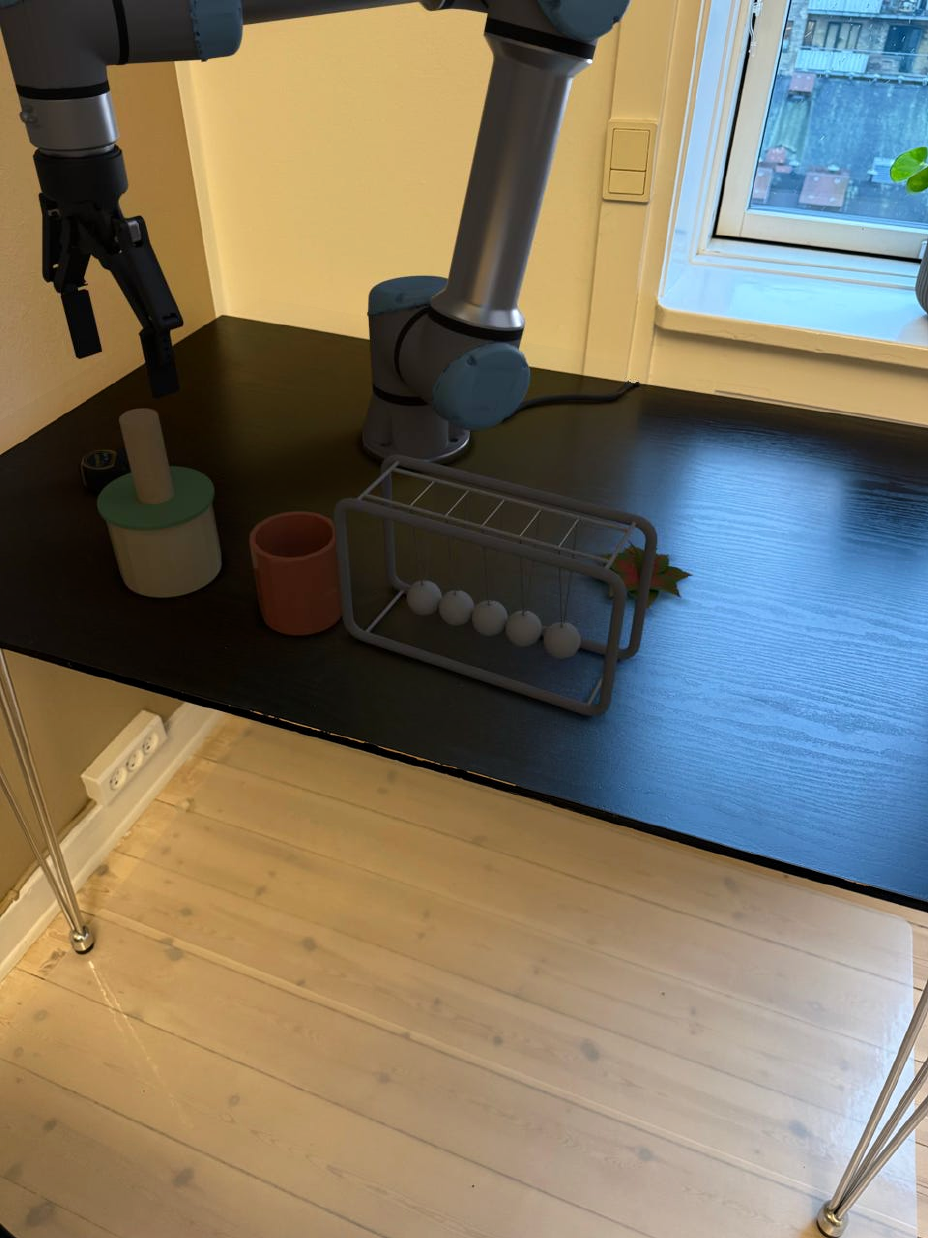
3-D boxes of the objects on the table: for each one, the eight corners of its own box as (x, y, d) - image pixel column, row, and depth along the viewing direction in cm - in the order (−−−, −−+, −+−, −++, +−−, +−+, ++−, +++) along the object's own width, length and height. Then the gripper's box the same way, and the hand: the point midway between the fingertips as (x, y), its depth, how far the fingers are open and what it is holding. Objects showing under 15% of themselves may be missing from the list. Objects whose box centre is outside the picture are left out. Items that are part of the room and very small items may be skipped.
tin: (223, 537, 118) (211, 469, 112) (219, 593, 109) (206, 523, 103) (128, 544, 116) (110, 476, 110) (116, 601, 108) (97, 531, 102)
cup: (341, 581, 111) (335, 508, 105) (346, 631, 104) (340, 556, 98) (261, 587, 110) (250, 514, 103) (261, 639, 103) (249, 563, 96)
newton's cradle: (638, 660, 101) (662, 519, 89) (605, 724, 93) (627, 579, 82) (389, 584, 111) (382, 448, 99) (342, 636, 103) (329, 495, 92)
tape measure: (138, 492, 125) (132, 467, 123) (83, 500, 124) (76, 475, 121) (135, 467, 130) (129, 442, 128) (82, 474, 129) (76, 450, 126)
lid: (217, 471, 113) (203, 387, 106) (212, 530, 103) (196, 442, 96) (107, 478, 111) (85, 393, 104) (91, 539, 101) (66, 450, 95)
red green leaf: (711, 580, 112) (718, 547, 109) (650, 625, 105) (656, 592, 102) (628, 538, 118) (633, 507, 116) (566, 578, 112) (569, 546, 109)
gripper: (-35, 129, 88) (28, 349, 101) (120, 181, 75) (168, 425, 89) (40, 116, 92) (91, 329, 106) (198, 164, 80) (233, 398, 93)
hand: (126, 373), depth 97 cm, fingers open, 13 cm apart
